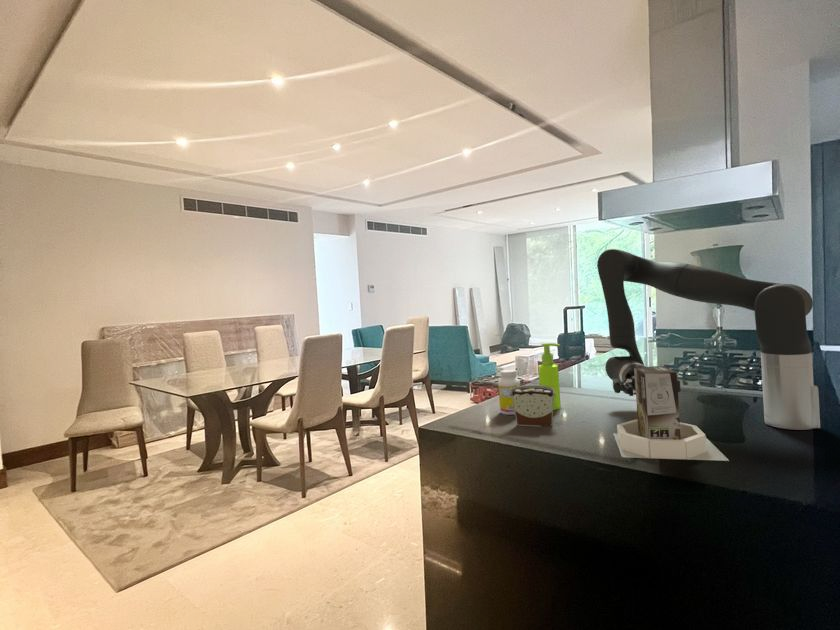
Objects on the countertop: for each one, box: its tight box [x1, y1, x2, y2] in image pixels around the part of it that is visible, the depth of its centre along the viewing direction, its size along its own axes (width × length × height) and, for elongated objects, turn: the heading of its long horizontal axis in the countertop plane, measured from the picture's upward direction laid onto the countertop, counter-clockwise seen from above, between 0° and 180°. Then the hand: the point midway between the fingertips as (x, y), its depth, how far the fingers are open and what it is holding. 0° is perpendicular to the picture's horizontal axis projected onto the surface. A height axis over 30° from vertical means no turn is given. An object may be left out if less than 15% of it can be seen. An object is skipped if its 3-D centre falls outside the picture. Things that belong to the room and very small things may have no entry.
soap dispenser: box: [537, 342, 562, 411], centre depth 134 cm, size 6×7×20 cm
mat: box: [612, 433, 730, 462], centre depth 94 cm, size 19×16×1 cm
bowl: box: [616, 418, 707, 460], centre depth 95 cm, size 16×16×4 cm
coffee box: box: [634, 365, 681, 440], centre depth 95 cm, size 9×6×16 cm
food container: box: [510, 384, 556, 428], centre depth 120 cm, size 12×6×10 cm, turn 65°
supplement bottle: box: [497, 369, 521, 416], centre depth 133 cm, size 7×7×13 cm
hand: (652, 391), depth 99 cm, fingers open, 8 cm apart
